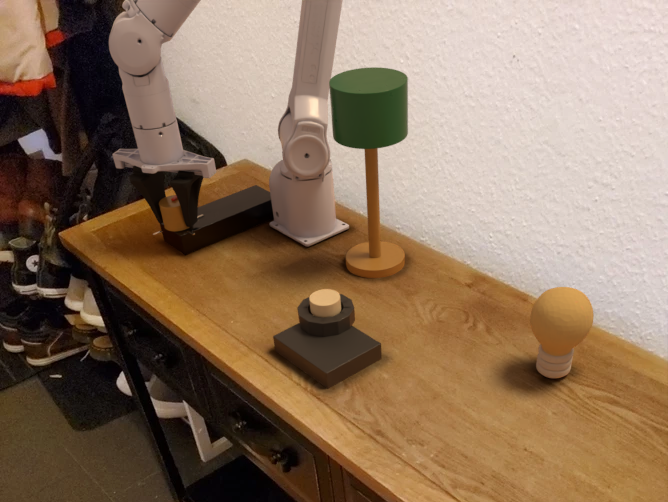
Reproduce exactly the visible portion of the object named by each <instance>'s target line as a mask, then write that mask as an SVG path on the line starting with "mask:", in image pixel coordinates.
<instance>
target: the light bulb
mask: <svg viewBox="0 0 668 502" xmlns="http://www.w3.org/2000/svg"><path fill="white" fill-rule="evenodd" d="M529 317H530V318H529V324H530V329H531V332H532V334H533V336H534V337H535V339H536V340H537V342H538V343H539V346H538V352H537V357H536V364H535V367H536V368H535V369H536V370H537V372H538V373H539V374H540V375H542V376H544V377H546V378H549V379H560V378H563V377H565V376H567V375H568V374H570V372H571V369H572V364H573V357H574V353H575V347H577V346H578V345H580V344H581V343H582V342H583V341H584V340H585V339H586V338H587V337H588V335H589V334H590V331H591V329H592V327H593V324H594V308H593V305H592V303H591V300H590V299H589V298H588V296H587V295H586V294H585V293H584V292H583V291H581V290H579V289H577V288H574V287H570V286H557V287H552V288H549V289H547V290H544V292H542V293H541V294H540V295H539V296H538V297H537V299H536V300H535V302H534V303H533V305H532V308H531V311H530V316H529Z"/></svg>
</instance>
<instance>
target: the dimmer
mask: <svg viewBox="0 0 668 502" xmlns="http://www.w3.org/2000/svg"><path fill="white" fill-rule="evenodd" d="M273 220H274V216H273V209H272V202H271V195H270V190H267V189H265V188H263V187H261V186H259V185H257V184H254V185H252V186H249V187H246V188H245V189H242V190H239V191H237V192H236V191H235V192H234V193H231V194H229V195H226V196H223V197H221V198H218V199H216V200H213V201H210V202H208V203H206V204H203V205H200V206H198V221H197V222H196V223H195V224H194V225H193V226H192V227H190V228H188V229H186V230H182V231H168V230H166V229H165V227H164V223H159V226H160V230H159V231H156V232H153V233H152V236H154V237H155V236H157V235H159V234H161V235H162V238H163V242H164V243H166V244H167V245H169V246H170V247H172V248H173V249H175V251H177V252H179V253H180V254H182V255H184V256H185V257H186V256H188V255H190V254H193V253H196V252H197V251H198V252H199V251H200V250H202V249H204V248H207V247H209V246H212V245H215V244H217V243H219V242H221V241H224V240H226V239H229V238H231V237H233V236H236V235H238V234H241V233H243V232H245V231H248V230H251V229H253V228H255V227H258V226H260V225H263V224H265V223H267V222H269V221H270V222H271V221H273Z"/></svg>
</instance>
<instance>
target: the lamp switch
mask: <svg viewBox="0 0 668 502" xmlns="http://www.w3.org/2000/svg"><path fill="white" fill-rule="evenodd" d="M340 294H341V293H340V292H338V291H337V290H335V289H330V288H324V289H318V290H315V291H313V292H312V293H311V294H310V295H309V296H308V297H309V301H310V310H311V313H312V315H313V316H315V317H321V318H325V317H332V316H335V315H337V314H339V313H340V311H341V299H340Z"/></svg>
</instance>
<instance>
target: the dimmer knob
mask: <svg viewBox="0 0 668 502" xmlns="http://www.w3.org/2000/svg"><path fill="white" fill-rule="evenodd" d="M159 207H160V211H161V215H162V219H163V223H164V227H165V229H166V230H168V231H182V230H186V229H188V228H190V227H187V226H186V224H185V222H184V218H183V214H182V210H181V206H180V203H179V201H178V198H177V196H176V194H173V195H172V194H171V195H168V196H167V195H166V197H165V198H163V199H161V200H160V201H159Z"/></svg>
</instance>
